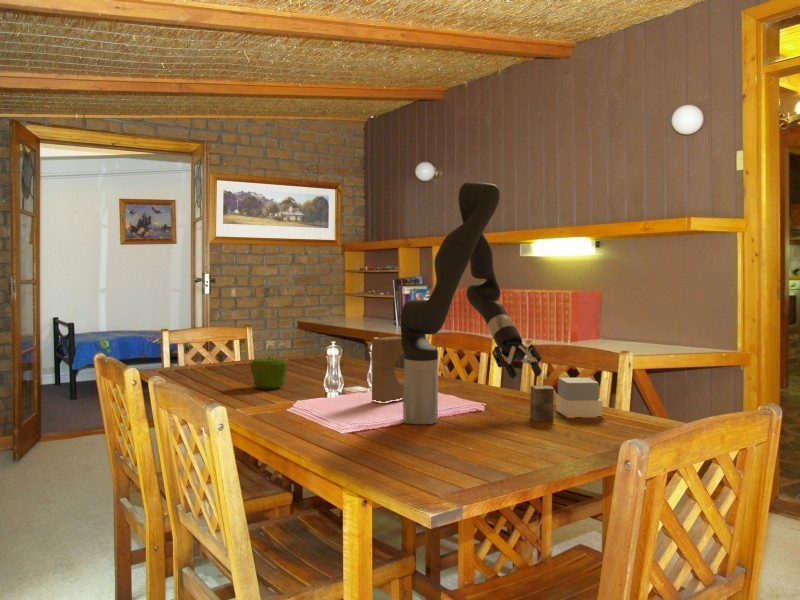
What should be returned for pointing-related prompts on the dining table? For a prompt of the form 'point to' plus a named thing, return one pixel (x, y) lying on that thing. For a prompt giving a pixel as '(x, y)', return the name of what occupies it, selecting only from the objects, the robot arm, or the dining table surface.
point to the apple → (269, 372)
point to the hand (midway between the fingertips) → (527, 375)
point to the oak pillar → (541, 403)
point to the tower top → (578, 388)
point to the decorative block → (386, 369)
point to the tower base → (578, 407)
